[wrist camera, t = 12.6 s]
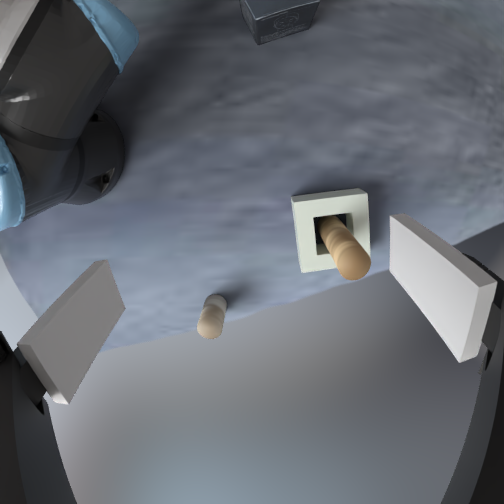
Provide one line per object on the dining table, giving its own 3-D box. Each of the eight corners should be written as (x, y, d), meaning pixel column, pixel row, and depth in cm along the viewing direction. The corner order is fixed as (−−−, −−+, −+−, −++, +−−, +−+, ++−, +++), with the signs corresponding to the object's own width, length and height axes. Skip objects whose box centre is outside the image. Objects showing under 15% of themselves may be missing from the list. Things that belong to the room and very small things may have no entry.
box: (292, -1, 32) (300, -35, 22) (309, 30, 34) (322, 1, 24) (241, 15, 33) (234, -17, 23) (257, 46, 35) (255, 20, 25)
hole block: (299, 261, 46) (301, 272, 42) (290, 196, 43) (293, 202, 39) (362, 252, 45) (370, 262, 42) (358, 188, 42) (367, 193, 38)
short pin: (207, 314, 50) (200, 339, 44) (202, 295, 49) (194, 320, 42) (228, 312, 50) (224, 337, 43) (224, 293, 49) (218, 317, 42)
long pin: (318, 239, 45) (339, 282, 32) (315, 215, 43) (337, 251, 30) (341, 236, 44) (370, 277, 31) (340, 212, 43) (370, 246, 30)
